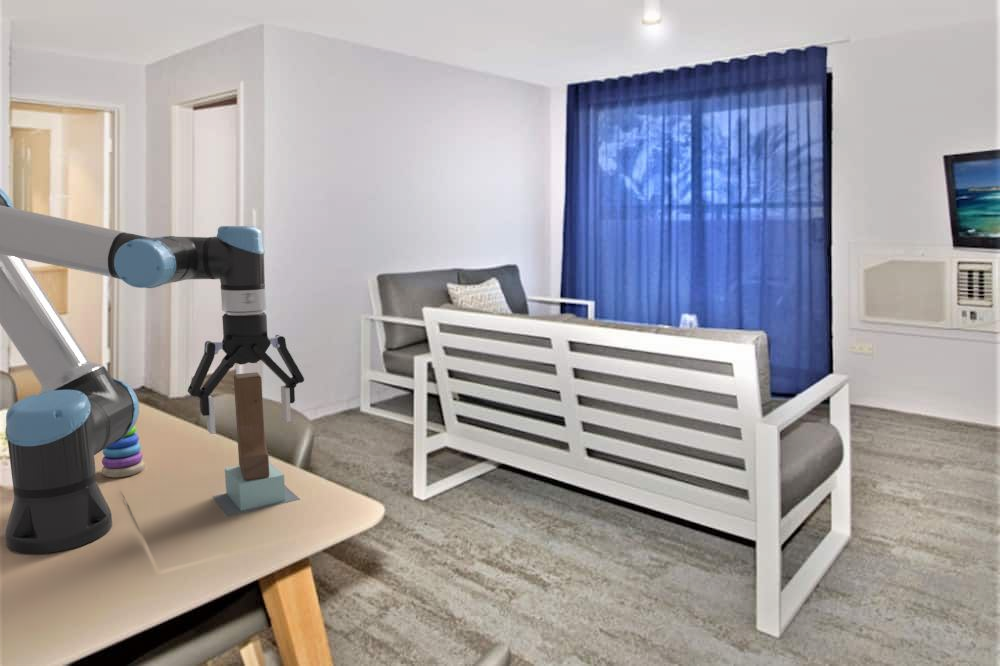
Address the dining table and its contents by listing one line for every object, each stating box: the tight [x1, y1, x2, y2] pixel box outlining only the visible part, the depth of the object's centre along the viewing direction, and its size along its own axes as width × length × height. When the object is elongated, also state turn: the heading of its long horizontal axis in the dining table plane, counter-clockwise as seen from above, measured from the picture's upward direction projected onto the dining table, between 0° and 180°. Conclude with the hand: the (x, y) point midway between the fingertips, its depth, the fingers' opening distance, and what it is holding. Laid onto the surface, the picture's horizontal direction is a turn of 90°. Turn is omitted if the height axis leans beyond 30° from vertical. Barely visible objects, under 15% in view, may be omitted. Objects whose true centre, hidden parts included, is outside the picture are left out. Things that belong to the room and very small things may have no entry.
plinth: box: [224, 461, 286, 511], centre depth 133 cm, size 8×10×5 cm
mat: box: [212, 485, 301, 517], centre depth 133 cm, size 13×11×1 cm
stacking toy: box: [101, 425, 146, 478], centre depth 146 cm, size 8×8×19 cm
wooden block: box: [233, 371, 270, 480], centre depth 131 cm, size 9×4×18 cm, turn 25°
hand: (250, 426), depth 131 cm, fingers open, 13 cm apart
